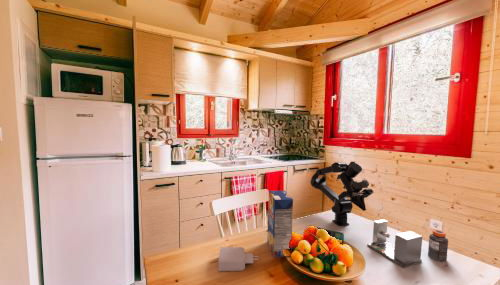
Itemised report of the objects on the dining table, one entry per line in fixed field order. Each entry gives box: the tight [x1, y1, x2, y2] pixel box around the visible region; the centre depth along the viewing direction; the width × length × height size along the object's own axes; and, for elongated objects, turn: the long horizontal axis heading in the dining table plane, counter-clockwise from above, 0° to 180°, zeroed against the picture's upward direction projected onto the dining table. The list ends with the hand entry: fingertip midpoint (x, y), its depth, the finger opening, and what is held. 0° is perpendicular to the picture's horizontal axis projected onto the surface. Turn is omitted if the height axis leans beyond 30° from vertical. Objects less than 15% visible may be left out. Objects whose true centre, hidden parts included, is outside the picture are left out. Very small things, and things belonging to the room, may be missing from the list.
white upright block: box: [370, 219, 391, 245], centre depth 96 cm, size 5×8×10 cm, turn 111°
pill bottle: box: [427, 229, 449, 262], centre depth 90 cm, size 6×6×11 cm
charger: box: [218, 246, 259, 272], centre depth 84 cm, size 5×9×15 cm
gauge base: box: [367, 230, 423, 269], centre depth 92 cm, size 16×11×11 cm
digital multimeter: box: [316, 226, 345, 242], centre depth 106 cm, size 7×15×3 cm, turn 64°
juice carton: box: [266, 190, 294, 258], centre depth 94 cm, size 12×8×24 cm, turn 7°
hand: (364, 210), depth 106 cm, fingers closed
